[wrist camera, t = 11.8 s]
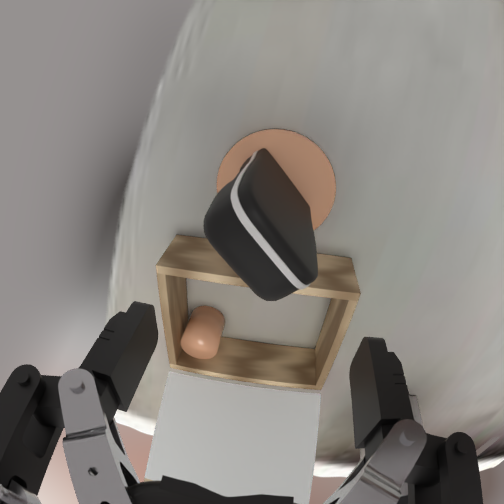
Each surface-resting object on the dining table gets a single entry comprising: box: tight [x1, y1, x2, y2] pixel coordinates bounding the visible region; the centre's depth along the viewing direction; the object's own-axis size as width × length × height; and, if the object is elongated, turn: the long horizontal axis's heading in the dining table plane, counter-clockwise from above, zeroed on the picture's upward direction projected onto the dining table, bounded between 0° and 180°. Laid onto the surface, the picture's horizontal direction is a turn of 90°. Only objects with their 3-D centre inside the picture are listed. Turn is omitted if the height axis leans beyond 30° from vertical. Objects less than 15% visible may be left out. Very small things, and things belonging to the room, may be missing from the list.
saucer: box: [217, 129, 336, 231], centre depth 26 cm, size 10×10×1 cm
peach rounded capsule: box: [181, 306, 225, 359], centre depth 33 cm, size 4×4×4 cm
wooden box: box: [156, 235, 361, 390], centre depth 30 cm, size 17×14×6 cm
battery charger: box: [204, 148, 318, 301], centre depth 20 cm, size 7×4×11 cm, turn 38°
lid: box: [144, 371, 321, 504], centre depth 27 cm, size 17×14×1 cm
